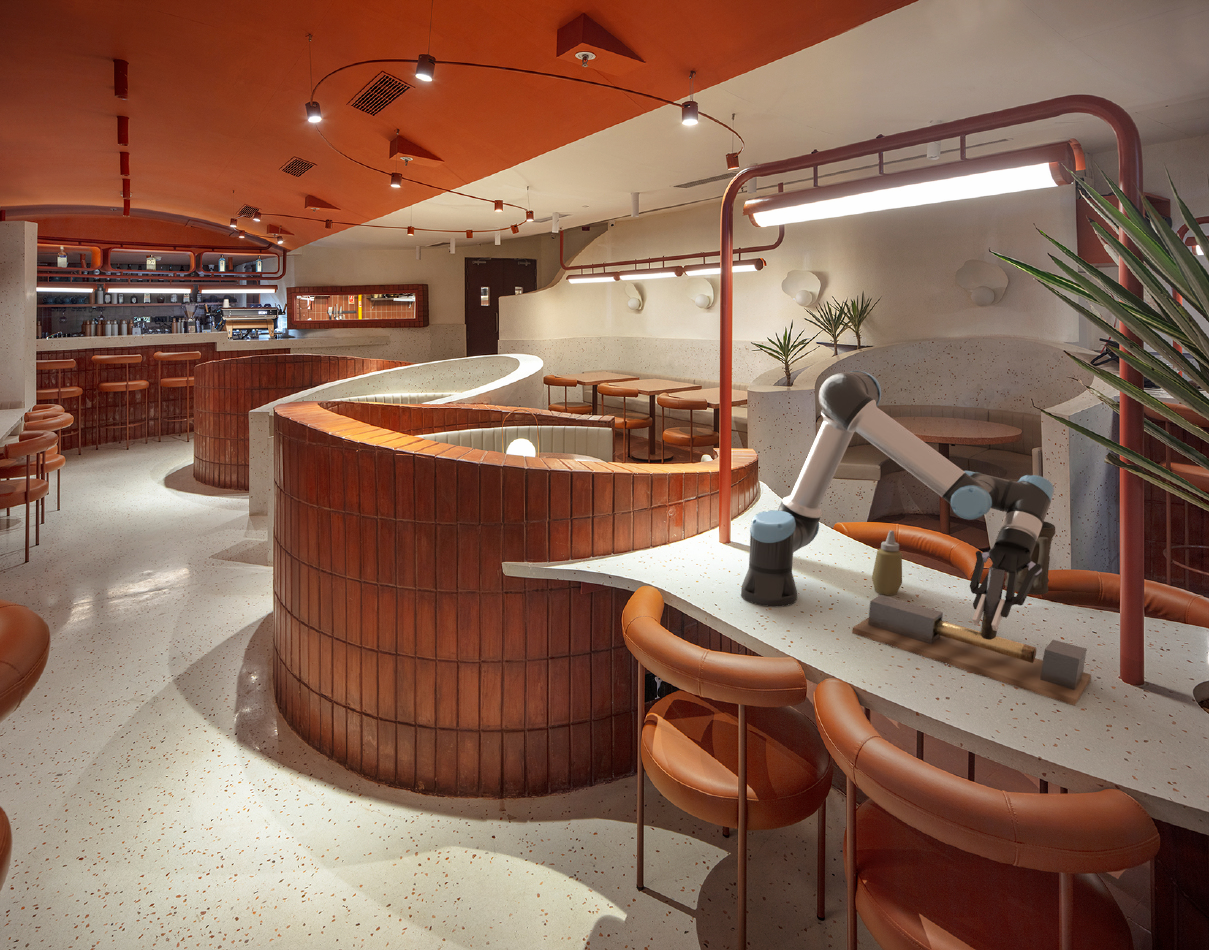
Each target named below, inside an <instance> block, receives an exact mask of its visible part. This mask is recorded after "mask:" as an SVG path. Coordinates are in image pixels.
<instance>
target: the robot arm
mask: <svg viewBox="0 0 1209 950" xmlns="http://www.w3.org/2000/svg"><path fill="white" fill-rule="evenodd" d="M882 394H883V393H882V387H881V385H880V382H879V381H878V379H877V378H876V377H875V376H874V375H872V374H870V373H868V372H866V371H862V370H851V371H848V372H839V373H835V374H833V375H831V376H829V377H827V378H826V380H824V382H823V383H822V384H821V386H820V388H819V391H818V402H819V406H820V408H821V411H820V414H821V416H822V419H823V421H822V423H821V424H820V428H819V430H818V431H817V434H816V437H815V438H814V441H813V443H812V445H811V447H810V450H809V451H808V455H807V457H806V459H805V462H804V463H803V465H802V468H801V470H800V473H799V475H798V477H797V480H796V481H795V484H794V486H793V489H792V491H791V492H790V494H789V495H787V496H784V497H783V498H782V500H781V502H780V504H779V506H778V509H777V510H775V509H773V510H771V509H770V510H767V511H765V510H764V511H761V512H758V513H757V514H755V515H754V516H753V517H752V519H751V525H750V528H749V533H750V534H749V537H750V538H749V555H748V556H749V559H748V569H747V572H746V575H745V577H744V579H743V582H742V584H741V588H740V589H741V590H740V593H741V598H743V599H744V600H746V601H748V602H749V603H752V604H755V605H759V606H763V607H770V608H771V607H774V608H776V607H787V606H790V605H793V604H795V603H796V601H797V599H798V590H797V585H796V581H795V578H794V574H793V564H794V563H793V560H794V553H795V552H796V551H798V550H800V549H802V548H804V547H806V546H808V545H809V544H811V542H813V541H814V540H815V538H817V535H818V533H819V530H820V529H819V528H820V522H819V521H820V520H821V518H822V516H823V515H822V514H823V513H822V510H821V508H820V507H821V505H822V503H823V500H824V498H825V496H826V493H827V491H828V489H829V487H830V486H831V483H832V481H833V479H834V478H835V475H836V472H837V470H838V467H839V465H840V464H841V461H842V460H843V457H844V455H845V454H846V451H847V449H848V447H849V445H850V442H851V440H852V438H853V435H854V434H855V433H857V434H858V435H860V437H862V438H863V439H865V440H866V441H868V442H869V443H870V444H871V445H872V446H874V447H876V448H877V449H878V450H879V451H880V452H881V453H883V454H885V455H886V456H887V457H888V458H890V459H891V460H892V461H894V462H895V463H896V464H897V465H899V466H900V467H901V468H902V469H904V470H905V471H907V472H908V473H909V474H911V475H912V476H913V477H915V478H916V479H917V480H918V481H920V482H921V483H922V484H924V485H925V486H927V487H928V488H929V489H930V490H932V491H933V492H935V493H936V494H937V495H938V496H940V497H941V498H942V499H943V500H944V501H946V502H947V503H948V504H950V506H951V509H952V511H953V513H954V514H955V515H956V516H958V517H959V518H961V519H964V520H970V521H971V520H977V519H979V518H981V517H983V516H984V515H987V513H988V512H990V509H992V510H996V511H1001V512H1004V513H1006V514H1005V516H1004V519H1003V520H1002V523H1001V525H1000V528H999V529H1000V530H999V532H998V533H997V536H996V540H995V542H994V544H993V546H992V548H990V549H989V550H988V551H985V552H982V551H980V550H976V552H975V558H976V561H975V564H974V565H975V566H974V569H973V573H972V575H971V580H970V584H969V588H970V592H971V593H972V594H975V598H974V601H973V602H972V606H973V609H974V610H975V611H974V614H973V617H972V622H973V625H974V626H976V627H977V626H979V624H980V621H981V619H982V618H983V612H984V604H985V597H986V589H987V581H988V573H989V571H988V573H987V574H986V575H985V577H984V578H983V581H982V582H981V579H982V575H983V572H984V567H985V564H986V563H987V562H988V559H990V561H991V562H992V564H991V566H990V567H1000V568H1003V569H1005V573H1007V572H1008V573H1009V578H1008V585H1007V587H1006V592H1005V596H1004V597H1005V599H1004V598H1001V600H1000V602H999V605H998V608H997V610H996V613H995V616H994V619H993V621H992V624H991V625H992V629H993V630H994V631H997V632H998V630H999V626H1000V624H1001V622H1002V618H1006V619H1007V618H1008V617H1009V615H1010V612H1011V610H1012V607H1013V606H1014V605H1015V606H1019V607H1020V606H1021V607H1022V606H1023V605H1024V604H1025V602H1026V599H1027V597H1028V595H1029V594H1028V593H1029V591H1030V589H1031V587H1032V585H1033V583H1034V581H1035V579H1036V578H1037V577H1038V576H1039V575H1040V574H1041V573H1042V568H1041V565H1040V564H1035V563H1033V562H1032V560H1031V556H1032V553H1033V550H1034V547H1035V544H1036V541H1037V539H1038V536H1039V533H1040V531H1041V528H1042V524H1043V522H1044V521H1045V520H1046V519H1045V518H1046V516H1047V514H1048V511H1049V509H1050V505H1051V502H1052V500H1053V495H1054V492H1055V488H1054V485H1053V483H1052V482H1051V481H1050V480H1049V479H1047V478H1045V477H1044V476H1042V475H1041V476H1040V475H1037V474H1031V475H1030V474H1026V475H1023V476H1021V477H1020V478H1019V480H1018V481H1014V480H1013V481H1012V480H1009V479H1004V478H1001V477H997V476H992V475H988V474H985V473H984V474H983V473H982V472H978V471H975V472H974V471H971V470H963V469H962V468H960V467H959V466H957V465H956V464H954V463H953V462H952V461H950V459H948V458H946V456H943V454H941V453H940V452H938V451H937V450H936V449H935V448H933V447H932V446H931V445H929V444H927V443H926V442H925V441H923V440H922V439H921V438H920V437H918V436H916V434H914V433H912V431H910V430H908V429H907V428H906V427H904V426H903V425H902V424H901V423H899V422H898V421H896V420H895V419H894V418H892V417H891V416H889V415H888V414H887V413H885V412H884V411H883V410H881V409H880V408H878V406H879V404H880V401H881V399H882ZM1028 566H1029V568H1028V570H1029V571H1028V573H1027V575H1026V577H1025V579H1024V581H1023V583H1022V585H1021V587H1020V589H1019V591H1018V592H1017V593H1015V592H1016V591H1015V588H1016V581H1017V577H1018V572H1020V571H1021V570H1023V569H1025V568H1027V567H1028ZM1015 594H1016V596H1015Z"/></svg>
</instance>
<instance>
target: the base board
mask: <svg viewBox="0 0 1209 950" xmlns="http://www.w3.org/2000/svg"><path fill="white" fill-rule="evenodd" d="M868 621H869V616H868V617H867V618H865V619H863V620H861V622H859V623H857V624H856V625H854V626H852V629H851V634H853V635H857V636H860V637H862V638H866V639H869V640H871V641H875V642H878V643H882V644H884V645H887V644H888V646H890V647H894V648H896V647H897V648H896V649H900V650H902V651H905V652H909V653H912V654H914V653H915V655H916V656H918V655H919V656H921V655H922V656H921V657H924V658H927V659H930V658H931V659H930V660H933V661H936V662H938V663H942V662H943V663H942V664H945V663H947V664H946V665H948V664H949V666H952V667H954V666H955V668H957V669H961V670H964V671H966V672H969V673H973V674H977V675H978V676H979V675H980V676H982V677H986V678H988V679H992V680H994V681H996V682H997V681H998V682H1000V683H1004V684H1007V685H1010V686H1013V687H1016V688H1019V689H1022V690H1025V691H1029V692H1031V693H1034V694H1036V695H1037V694H1038V695H1040V696H1043V697H1046V698H1049V699H1053V700H1056V701H1058V702H1062V703H1065V704H1067V705H1068V704H1069V705H1071V706H1073V707H1074V706H1075V707H1076V705H1077V703H1078V702H1079V700H1080V698H1081V697H1082V695H1083V694H1084V692H1085V690H1086V689H1087V687H1088V685H1090V683H1091V680H1092V674H1091V673H1087V672H1084V671H1083V675H1082V679H1081V681H1080V683H1079V684H1078V686H1077V687H1076V689H1075V690H1072V689H1069V688H1065V687H1062V686H1059V685H1056V684H1053V683H1049V682H1046V681H1043V680H1040V678H1041V671H1042V664H1043V659H1040V658H1037V657H1035V660H1034V662H1033V663H1031V662H1027V661H1024V660H1021V659H1017V658H1014V657H1011V656H1007V655H1004V654H1001V653H997V652H994V651H991V650H987V649H984V648H981V647H977V646H974V645H971V644H967V643H964V642H961V641H957V640H954V639H951V638H947V637H944V636H941V635H940V638H939V639H937V640H936V641H935V642H934V643H933V644H928V643H925V642H921V641H918V640H915V639H912V638H908V637H905V636H902V635H899V634H896V633H892V632H889V631H886V630H883V629H880V628H876V627H873V626H870V625H868Z"/></svg>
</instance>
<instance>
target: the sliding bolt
mask: <svg viewBox="0 0 1209 950" xmlns="http://www.w3.org/2000/svg"><path fill="white" fill-rule="evenodd" d="M988 572H989V573H987V574H988V581H987V589H986V597H985V604H984V611H983V614H982V622H981V630H976V629H973V628H969V627H966V626H962V625H958V624H957V623H956V624H955V623H952V622H948V621H946V620H945V621H944V620H942V621H941V620H936V621H935V626H934V634H937V635H941V636H944V637H947V638H951V639H954V640H957V641H961V642H964V643H967V644H971V645H974V646H977V647H981V648H984V649H987V650H991V651H994V652H997V653H1001V654H1004V655H1007V656H1011V657H1014V658H1017V659H1021V660H1024V661H1027V662H1031V663H1033V662H1034V660H1035V658H1036V655H1037V647H1035V646H1032V645H1029V644H1025V643H1022V642H1017V641H1014V640H1011V639H1007V638H1004V637H1001V636H997V634H998V633H997V632H998V630H997V631H994V630H993V629H992V625H991V624H992V621H993V619H994V616H995V613H996V610H997V608H998V605H999V602H1000V600H1001V599H1002V595H1003V589H1004V583H1005V581H1004V580H1005V574H1006V572H1005V569H1003V568H1000V567H991V566H989V568H988Z"/></svg>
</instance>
